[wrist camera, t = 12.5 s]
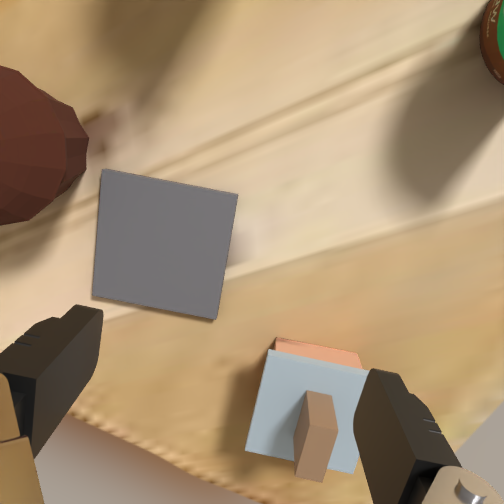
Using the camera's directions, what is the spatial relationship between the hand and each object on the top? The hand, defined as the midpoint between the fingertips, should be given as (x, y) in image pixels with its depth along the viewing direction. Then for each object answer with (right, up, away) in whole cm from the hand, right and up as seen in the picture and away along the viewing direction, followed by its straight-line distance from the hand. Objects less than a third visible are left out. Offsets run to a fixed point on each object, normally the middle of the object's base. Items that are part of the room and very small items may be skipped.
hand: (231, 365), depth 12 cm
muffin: (-18, +13, +25) cm, 33 cm away
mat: (-8, +4, +26) cm, 28 cm away
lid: (+6, -11, +25) cm, 28 cm away
